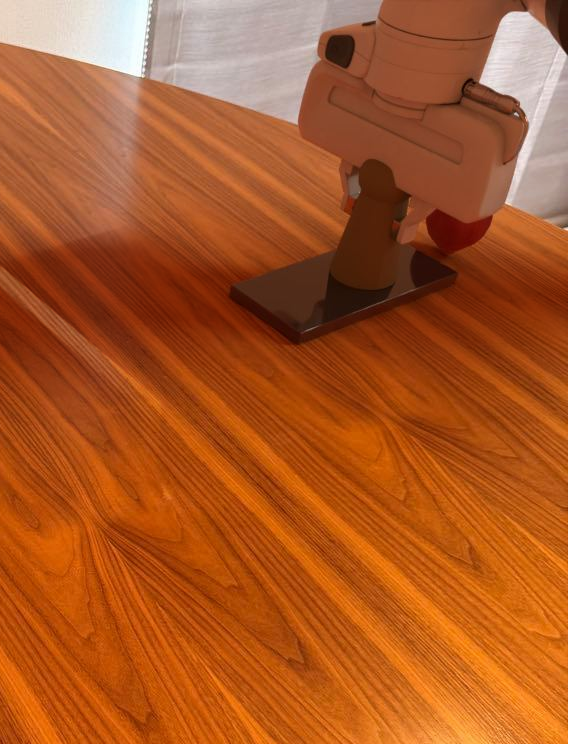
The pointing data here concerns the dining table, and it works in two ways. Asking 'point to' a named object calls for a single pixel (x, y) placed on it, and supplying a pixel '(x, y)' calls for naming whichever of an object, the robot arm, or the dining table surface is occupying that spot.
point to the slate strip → (334, 294)
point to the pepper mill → (371, 231)
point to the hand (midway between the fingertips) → (375, 225)
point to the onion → (455, 231)
